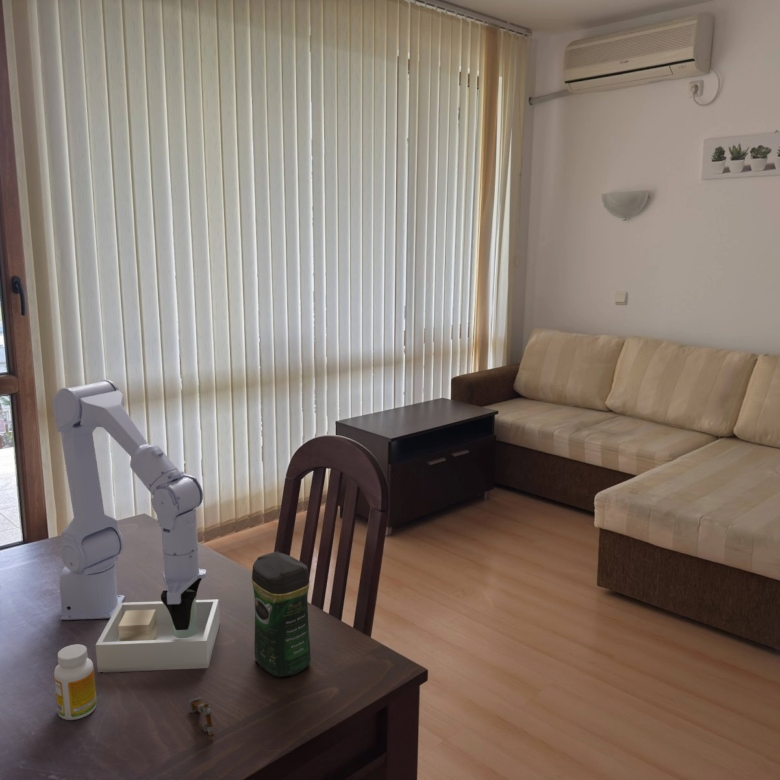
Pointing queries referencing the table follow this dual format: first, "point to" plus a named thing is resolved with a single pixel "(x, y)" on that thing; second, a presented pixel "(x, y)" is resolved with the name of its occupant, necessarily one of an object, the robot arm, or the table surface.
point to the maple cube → (138, 625)
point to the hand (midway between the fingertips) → (184, 621)
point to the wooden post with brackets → (205, 709)
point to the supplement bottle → (74, 683)
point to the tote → (159, 641)
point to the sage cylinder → (192, 626)
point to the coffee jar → (281, 614)
